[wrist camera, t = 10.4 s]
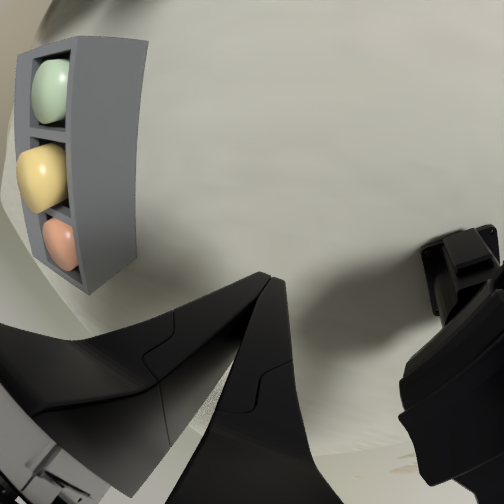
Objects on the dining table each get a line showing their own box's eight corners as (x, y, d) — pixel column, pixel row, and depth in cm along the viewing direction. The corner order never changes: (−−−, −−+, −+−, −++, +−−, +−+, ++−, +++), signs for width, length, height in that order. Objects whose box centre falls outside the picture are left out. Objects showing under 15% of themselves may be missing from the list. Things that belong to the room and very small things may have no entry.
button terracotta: (93, 216, 23) (68, 230, 21) (98, 263, 26) (77, 279, 24) (61, 202, 24) (39, 214, 22) (68, 246, 27) (48, 259, 25)
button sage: (96, 55, 16) (65, 56, 13) (90, 118, 18) (60, 125, 16) (61, 60, 17) (33, 63, 14) (57, 115, 20) (30, 122, 17)
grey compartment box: (148, 40, 18) (78, 35, 12) (136, 257, 30) (89, 295, 24) (76, 50, 21) (17, 55, 15) (77, 228, 33) (33, 256, 26)
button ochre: (72, 145, 18) (40, 156, 15) (75, 206, 21) (48, 220, 18) (41, 139, 19) (13, 148, 17) (45, 192, 22) (20, 205, 19)
